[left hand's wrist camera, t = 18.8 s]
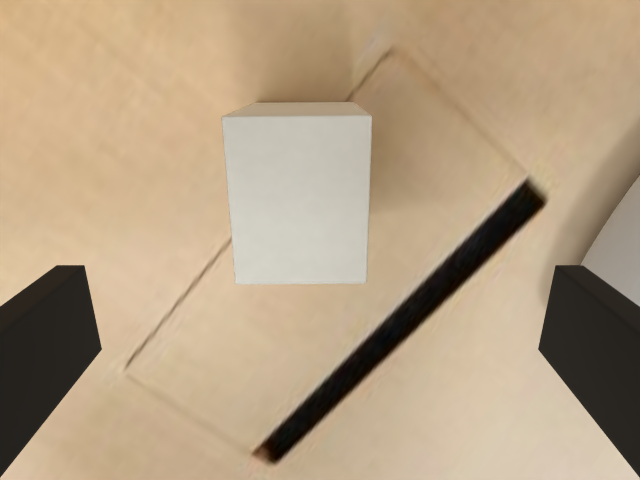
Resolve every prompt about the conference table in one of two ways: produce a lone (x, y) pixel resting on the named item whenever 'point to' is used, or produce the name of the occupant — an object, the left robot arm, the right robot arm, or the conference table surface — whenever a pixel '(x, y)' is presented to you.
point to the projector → (619, 247)
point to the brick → (299, 192)
